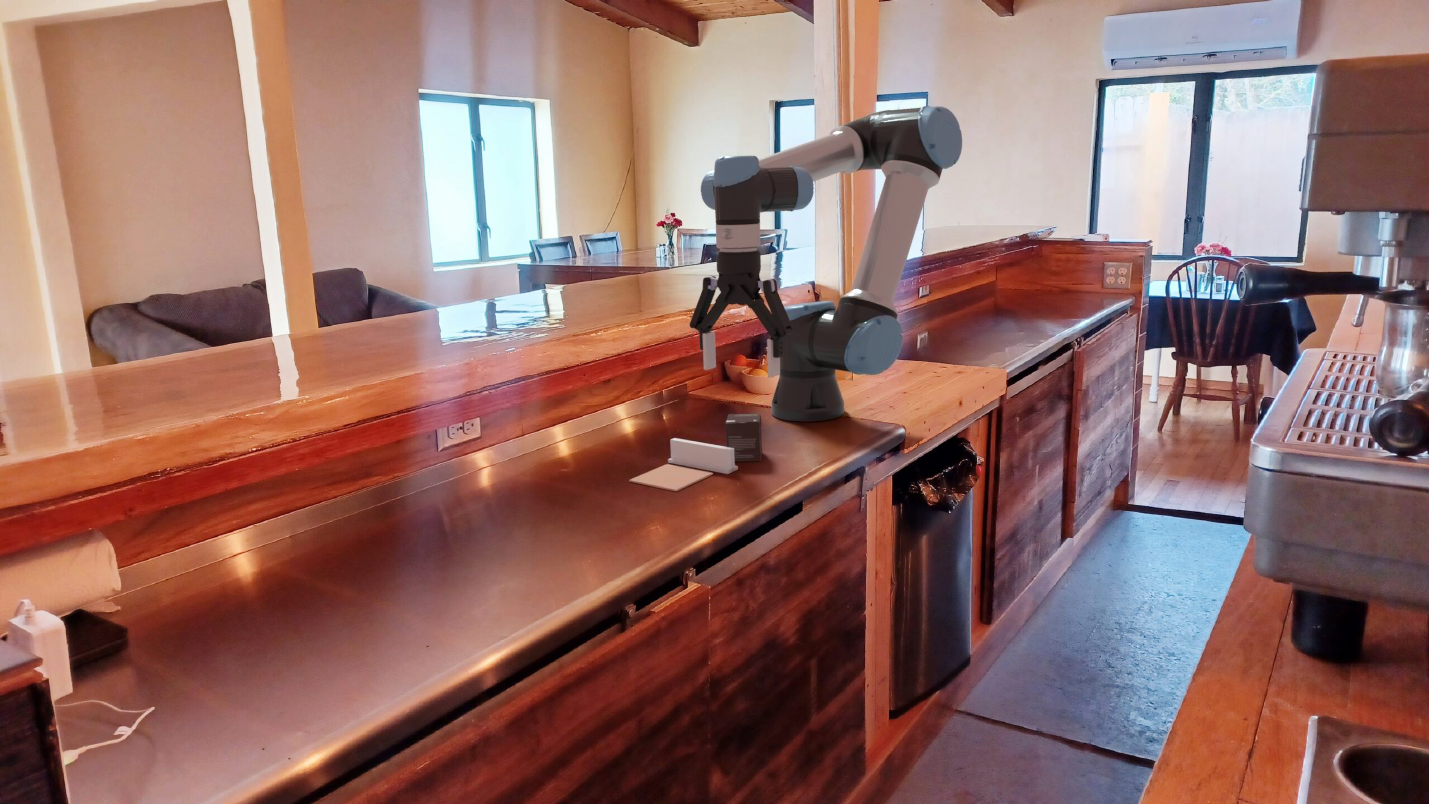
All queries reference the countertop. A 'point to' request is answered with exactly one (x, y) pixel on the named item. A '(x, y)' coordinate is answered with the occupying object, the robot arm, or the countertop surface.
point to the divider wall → (702, 456)
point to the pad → (671, 477)
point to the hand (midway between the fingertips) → (741, 372)
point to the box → (744, 436)
